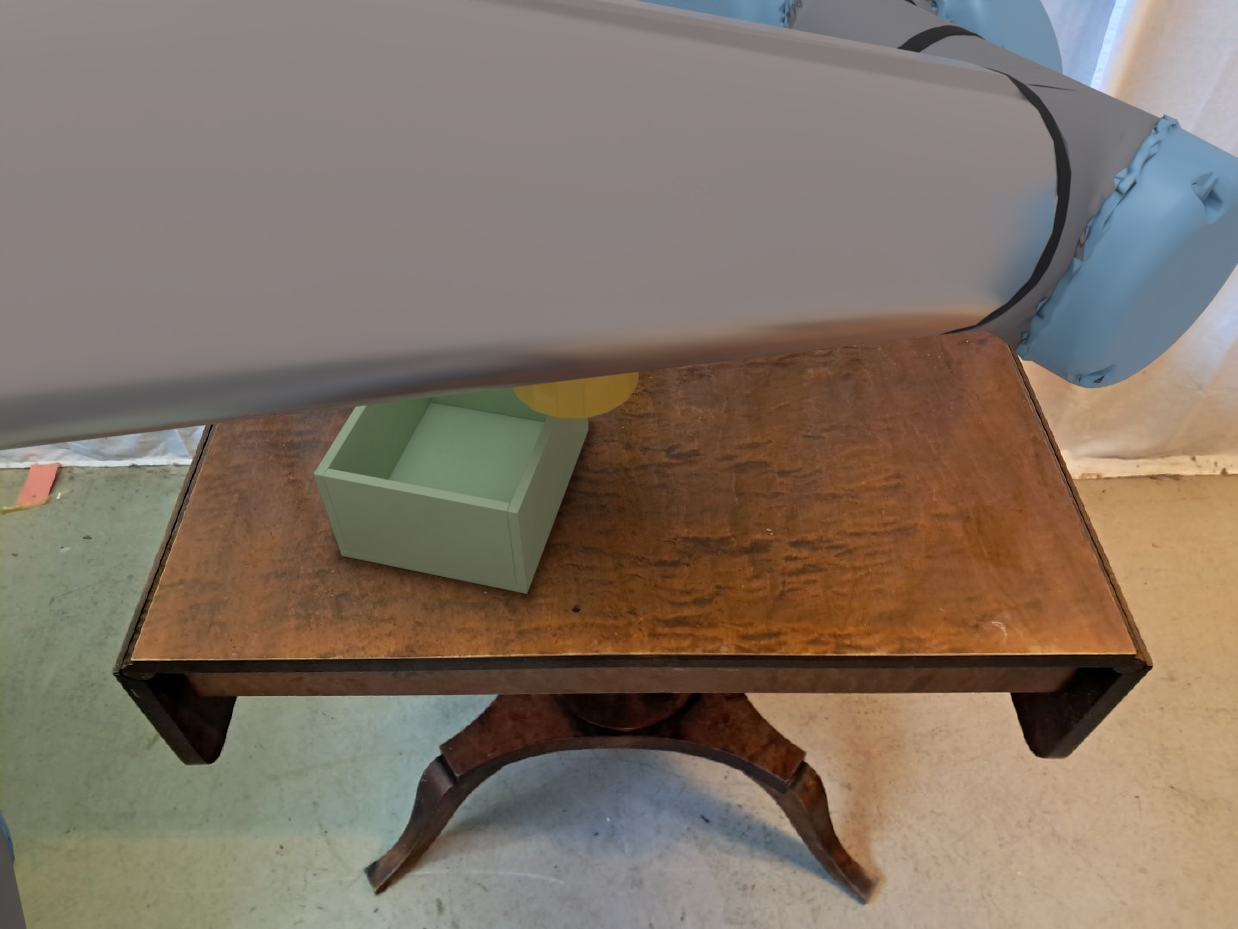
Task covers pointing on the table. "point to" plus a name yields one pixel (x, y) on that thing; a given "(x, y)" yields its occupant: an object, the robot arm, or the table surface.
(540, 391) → the bowl
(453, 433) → the chest
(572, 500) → the table surface
